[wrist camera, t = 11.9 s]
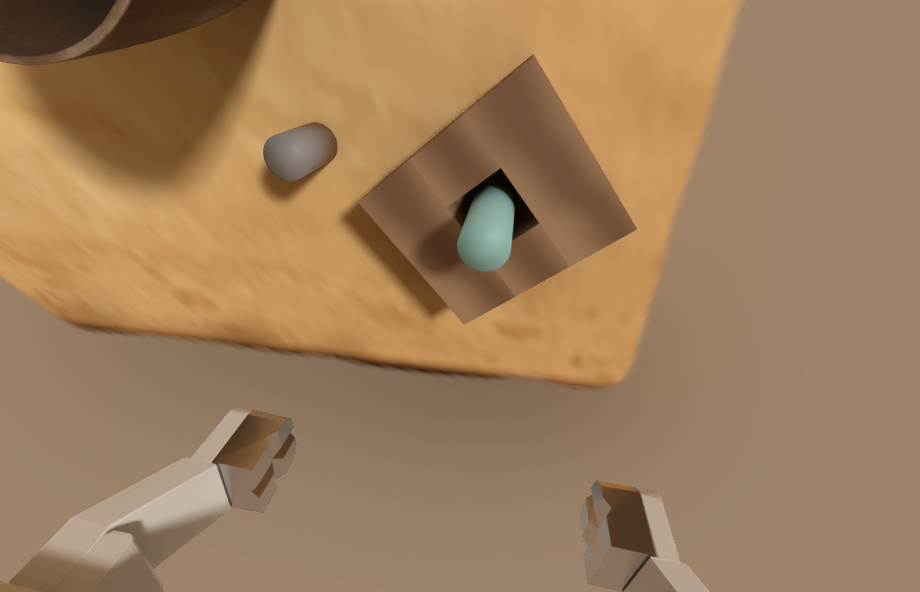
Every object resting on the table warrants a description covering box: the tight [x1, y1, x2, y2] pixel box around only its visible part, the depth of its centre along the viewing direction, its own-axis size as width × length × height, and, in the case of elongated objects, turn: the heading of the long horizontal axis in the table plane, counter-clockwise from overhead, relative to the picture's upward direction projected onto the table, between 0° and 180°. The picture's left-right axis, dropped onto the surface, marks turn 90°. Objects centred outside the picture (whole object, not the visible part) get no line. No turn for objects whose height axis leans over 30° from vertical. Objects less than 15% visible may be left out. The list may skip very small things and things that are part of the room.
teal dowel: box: [457, 173, 516, 271], centre depth 26 cm, size 3×3×10 cm
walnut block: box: [358, 54, 637, 324], centre depth 29 cm, size 14×12×5 cm
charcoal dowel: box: [263, 123, 337, 182], centre depth 29 cm, size 3×3×5 cm
